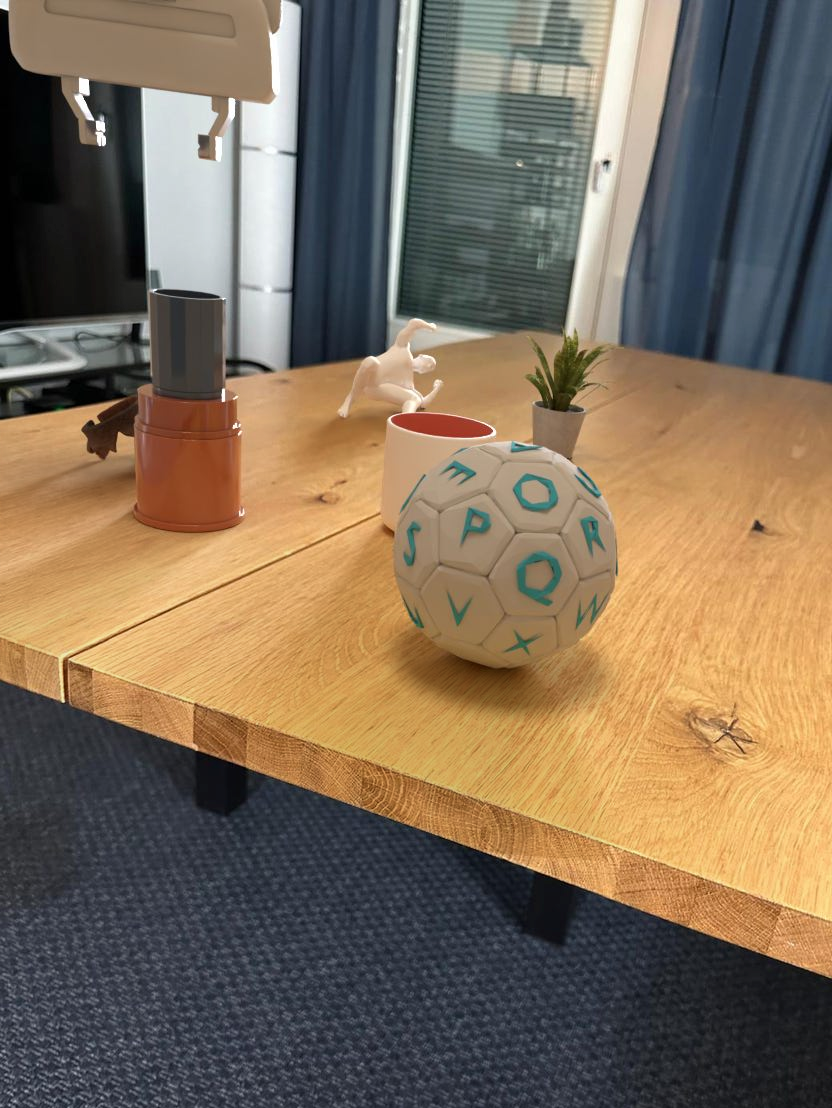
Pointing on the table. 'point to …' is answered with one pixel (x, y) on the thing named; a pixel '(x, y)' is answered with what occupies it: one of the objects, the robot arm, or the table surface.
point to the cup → (421, 452)
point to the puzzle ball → (505, 554)
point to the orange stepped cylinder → (187, 462)
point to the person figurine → (395, 374)
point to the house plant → (562, 395)
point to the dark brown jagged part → (111, 427)
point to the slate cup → (187, 343)
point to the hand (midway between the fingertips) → (151, 152)
